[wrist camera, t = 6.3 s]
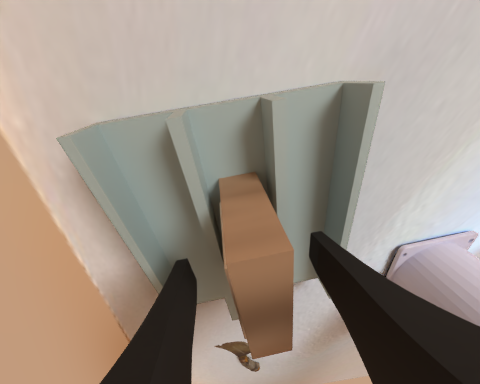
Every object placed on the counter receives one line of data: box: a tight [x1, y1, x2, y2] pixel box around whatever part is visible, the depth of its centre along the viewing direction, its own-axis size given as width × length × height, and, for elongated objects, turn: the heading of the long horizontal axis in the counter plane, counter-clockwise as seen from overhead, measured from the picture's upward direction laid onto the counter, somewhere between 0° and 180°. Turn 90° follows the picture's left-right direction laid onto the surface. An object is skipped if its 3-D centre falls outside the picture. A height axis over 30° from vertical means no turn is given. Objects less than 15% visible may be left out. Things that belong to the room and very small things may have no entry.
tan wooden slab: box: [219, 172, 294, 359], centre depth 11 cm, size 8×2×6 cm, turn 8°
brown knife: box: [215, 342, 260, 372], centre depth 26 cm, size 12×1×5 cm
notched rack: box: [56, 81, 385, 320], centre depth 13 cm, size 16×13×3 cm
